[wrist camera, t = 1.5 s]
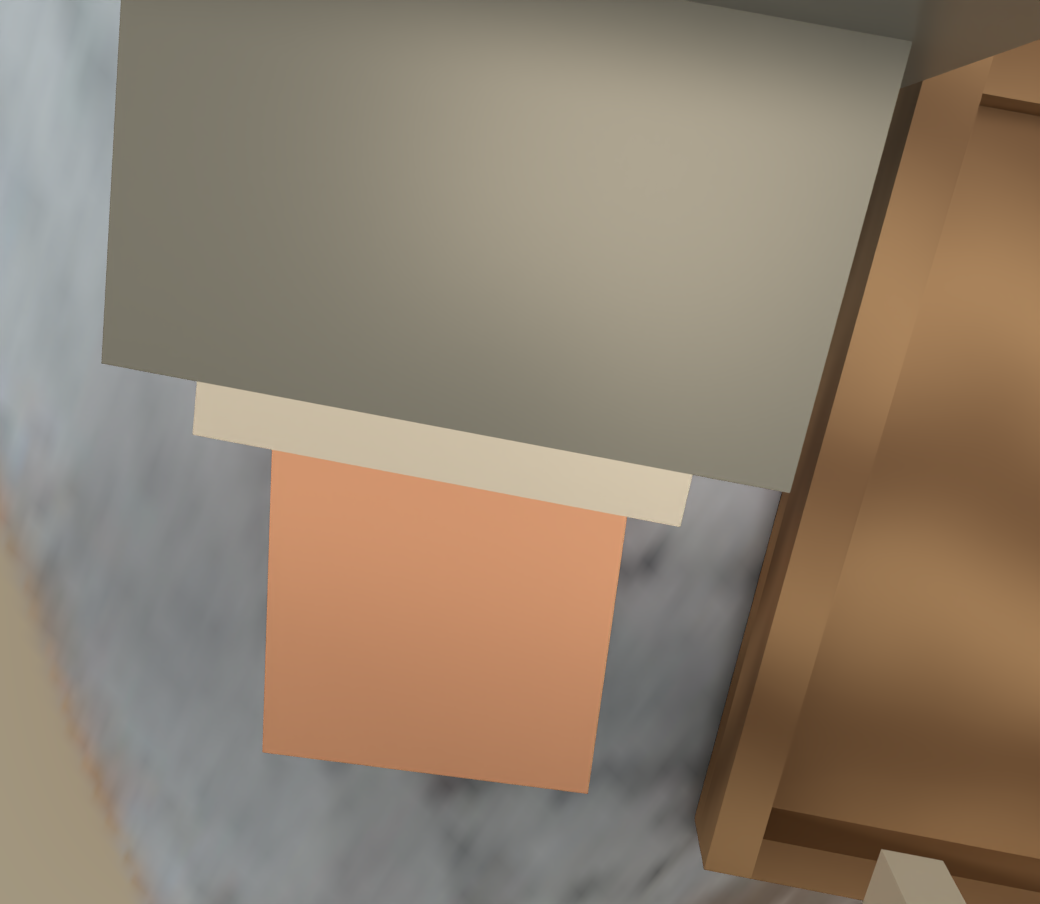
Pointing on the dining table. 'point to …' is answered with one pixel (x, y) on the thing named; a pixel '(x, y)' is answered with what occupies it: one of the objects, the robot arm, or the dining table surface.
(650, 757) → the dining table surface
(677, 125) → the dispenser
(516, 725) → the peach rectangular brick
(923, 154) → the tray
